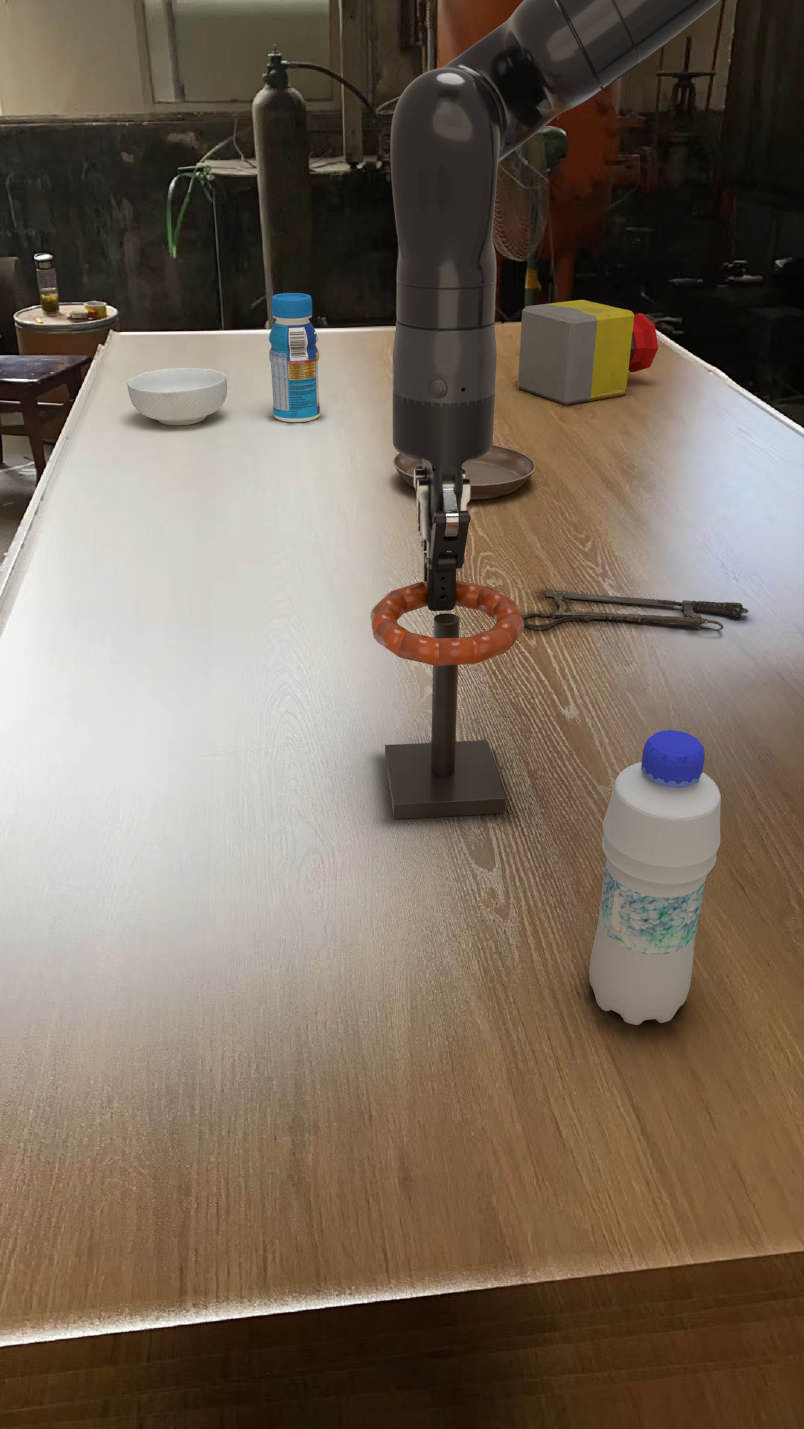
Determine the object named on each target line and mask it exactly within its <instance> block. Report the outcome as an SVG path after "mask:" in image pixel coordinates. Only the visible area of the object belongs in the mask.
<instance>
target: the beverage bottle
mask: <svg viewBox="0 0 804 1429" xmlns="http://www.w3.org/2000/svg"><path fill="white" fill-rule="evenodd" d="M270 302H271V316H272V318H274V319H275V321H274V323H273V324H272V327H271V329H270V332H269V336H268V342H269V343H270V349H269V352H268V359H269V362H270V372H271V389H272V414H273V417H274V418H275V419H276V420H278V421H281V422H287V423H305V422H311V421H314V420H317V418H319V417H320V416H321V407H320V394H319V393H320V391H319V390H320V389H319V360H320V351H319V349H318V348H317V342H318V340H319V339H318V338H319V337H318V334H317V330H316V329H315V327H314V325H313V324H312V322H311V321H310V319H311V318H312V317H313V299H312V296H311V295H310V294H307V293H302V292H301V293H300V292H286V293H285V292H284V293H277V294H274V295H272V296H271V301H270Z"/></svg>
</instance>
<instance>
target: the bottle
mask: <svg viewBox="0 0 804 1429" xmlns="http://www.w3.org/2000/svg"><path fill="white" fill-rule="evenodd" d="M705 759H706V756H705V748H704V746H703V744H702V743H701V741H700V739H698V738H697V737H695V736H694V735H692V734H690V733H688V732H685V731H680V730H676V729H665V730H660V731H657V732H655V733H653V734H652V735H650V736H649V738H647V740H646V741H645V743H644V746H643V748H642V756H641V761H640V762H636V763H634V764H631V765H628V766H627V767H625V768H624V769H623V770H622V771H620V773H619V774H617V777H616V779H615V781H614V784H613V788H612V792H611V795H610V799H609V802H608V806H607V810H606V812H605V815H604V818H603V821H602V831H603V835H602V837H601V846H602V847H601V848H602V851H603V854H604V855H605V862H604V871H603V880H602V888H601V895H600V902H599V903H600V904H599V913H598V921H597V927H596V930H595V936H594V940H593V943H592V950H591V953H590V960H589V966H588V967H589V968H588V978H589V979H588V981H589V985H590V986H591V988H592V991H593V994H594V997H595V1002H596V1004H597V1005H598V1007H599V1008H600V1009H601V1010H602V1011H604V1012H609V1011H613V1012H615V1013H617V1014H619V1015H620V1016H621V1018H622V1019H623V1021H624V1022H625V1023H627V1024H630V1025H634V1026H639V1025H641V1024H642V1023H643V1022H644V1021H648V1020H649V1021H651V1020H656V1021H657V1022H658V1023H660V1024H663V1023H667V1022H670V1021H671V1020H673V1018H674V1017H675V1015H676V1013H677V1011H678V1010H679V1009H680V1008H681V1006H683V1005H684V1004H685V1002H686V1000H687V999H688V996H689V992H690V987H691V982H692V975H693V968H694V954H695V942H696V935H697V932H698V925H699V921H700V915H701V910H702V905H703V900H704V893H705V889H706V888H705V887H706V883H707V882H706V881H707V876H708V874H709V873H710V872H711V871H712V870H713V868H714V866H715V865H716V861H717V852H718V850H719V848H720V845H721V806H722V805H721V802H722V800H721V792H720V789H719V786H718V785H717V784H716V782H715V781H714V780H713V779H712V778H711V777H710V776H709V775H707V774H706V773H705V772H704V765H705Z"/></svg>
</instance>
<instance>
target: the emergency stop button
mask: <svg viewBox="0 0 804 1429" xmlns="http://www.w3.org/2000/svg"><path fill="white" fill-rule="evenodd" d="M519 342H520V345H519V361H518V378H517V387H518V388H519V389H520V390H522V391H525V392H527V393H530V394H533V395H536V396H539V397H542V398H544V399H548V400H551V401H554V402H557V403H560V404H562V405H565V406H569V405H574V404H575V405H576V404H580V403H587V402H592V401H597V400H603V399H610V398H615V397H616V398H617V397H621V396H624V395H625V394H626V393H627V387H628V376H629V373H635V372H639V371H642V370H643V371H644V370H646V369H649V368H651V366H652V364H653V363H654V362H653V361H654V360H655V358H656V357H655V356H656V354H657V353H658V350H659V342H658V337H657V330H656V325H655V324H654V322H652V321H651V320H650V319H649V318H648V317H646V315H645V314H644V313H643V312H642V313H641V312H639V313H634V312H633V311H632V310H629V309H624V308H620V307H615V306H611V305H607V304H604V303H603V304H602V303H598V302H594V301H590V300H585V299H577V300H568V301H561V302H552V303H543V304H536V305H535V304H534V305H526V306H524V308H523V309H522V310H521V324H520V341H519ZM624 389H626V391H623V392H618V393H612V394H606V395H600V394H603V393H609V392H613V391H617V390H624ZM597 395H600V396H597ZM591 396H594V397H591Z"/></svg>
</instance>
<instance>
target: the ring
mask: <svg viewBox="0 0 804 1429" xmlns="http://www.w3.org/2000/svg"><path fill="white" fill-rule="evenodd" d="M425 607H428V605H427V581H426V582H423V581H418V582H415V583H412V584H409V585H406V586H402V587H400V588H397V589H393V590H391V591H389V592H388V593H387V594H386V595H385V596H384V597H383V598H382V599H381V600H380V601H379V602H378V603H377V604H375V606H373V607H372V609H371V611H370V614H369V618H370V619H369V620H370V625H371V630H372V636H373V639H374V640H375V642H377V643H378V644H379V645H381V647H382V646H383V647H384V648H385V649H386V650H388V651H390V652H391V653H392V654H394V655H395V656H397V657H398V658H400V659H404V660H409V661H413V662H417V663H422V664H426V665H430V666H433V665H434V666H445V665H458V666H462V665H475V664H480V663H483V662H484V661H487V660H489V659H492V658H495V657H498V656H500V655H503V654H506V653H508V652H509V651H510V650H511V648H512V647H513V646H514V644H515V643H516V642H517V641H518V639H519V638H520V637H521V635H522V634H523V632H524V630H525V625H524V622H523V619H522V613H521V612H520V610H519V607H518V604H517V603H516V602H515V600H513V599H512V598H510V597H508V596H507V595H505V594H503V593H501V592H499V591H497V590H496V589H494V588H492V587H490V586H487V585H482V584H479V583H472V582H467V581H462V580H457V579H456V600H455V607H461V608H465V609H471V610H476V611H480V612H482V613H483V614H485V615H487V616H489V617H490V618H492V619H493V620H494V622H495V624H494V625H493V626H492V628H490V629H488V630H485V631H483V632H479V633H477V634H474V635H472V636H461V637H460V636H459V638H434V637H433V636H430V635H425V634H420V633H415V632H411V631H410V630H408V629H406V628H405V627H403V626H402V625H400V624H399V623H398V620H399V619H400V618H401V617H402V616H403V615H404V614H407V613H409V612H413V611H417V610H419V609H422V608H425Z"/></svg>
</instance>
